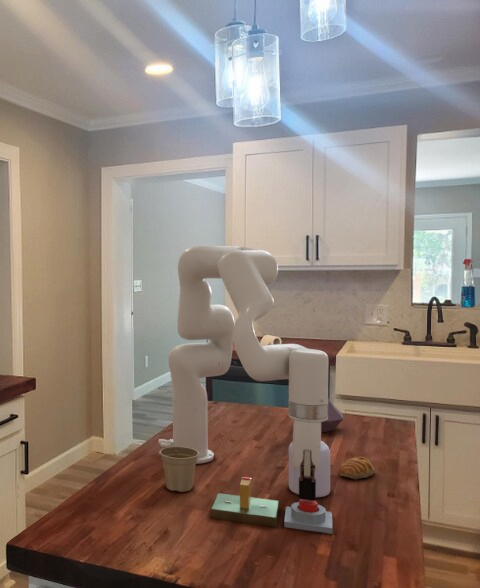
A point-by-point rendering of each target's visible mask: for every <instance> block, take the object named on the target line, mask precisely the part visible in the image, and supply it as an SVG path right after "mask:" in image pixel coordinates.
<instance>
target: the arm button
mask: <svg viewBox="0 0 480 588" xmlns="http://www.w3.org/2000/svg"><path fill="white" fill-rule="evenodd" d="M298 502H299V509H300V510H302V511H305V512H317V511H318V505H319V503H318V501H317V500H315V501H311V500H304V499H300V498H299V500H298Z"/></svg>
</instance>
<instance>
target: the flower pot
mask: <svg viewBox="0 0 480 588" xmlns="http://www.w3.org/2000/svg"><path fill="white" fill-rule="evenodd" d="M159 455H160V458H161V461H162V465H163V472H164V480H165V487H166V488H167V490H169V491H172V492H174V491H176V492H179V493H184V492H189V491H191V490H192V489H193V485H194V479H195V478H194V477H195V471H196V465H197V464H196V461H197V457H198V456H199V452H198V451H197V450H195V449H192V448H188V447H180V446H173V447H166V448H160V450H159Z"/></svg>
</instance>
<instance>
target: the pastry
mask: <svg viewBox="0 0 480 588" xmlns="http://www.w3.org/2000/svg"><path fill="white" fill-rule="evenodd" d="M375 471H376V469H375V467H374V466H373V464H372V462H371V460H369V458H367V457H364V456H354V457H352V458H350V459H349V458H348V459H346V460H345V461H344V462H342V464H340V468H339V470H338V472H339V475H340V477H346V478H348V479H353V480H358V479H363V478H369V477H371V476H373V475H374V473H375Z"/></svg>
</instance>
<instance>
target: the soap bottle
mask: <svg viewBox="0 0 480 588" xmlns="http://www.w3.org/2000/svg"><path fill="white" fill-rule="evenodd" d="M299 477H300V467H299V468H296V469H294V468H293V441H292V442H290V444H289V446H288V488H289V490H290V491H291V492H292V493H294V494H296V495H298V496H299ZM314 479H316V498H323V497H326V496H328V495H330V492H331V450H330V447H329V445H327V443H325V441H323V440H321V448H320V459H319V466H318V470H317V471H315V478H314Z"/></svg>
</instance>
